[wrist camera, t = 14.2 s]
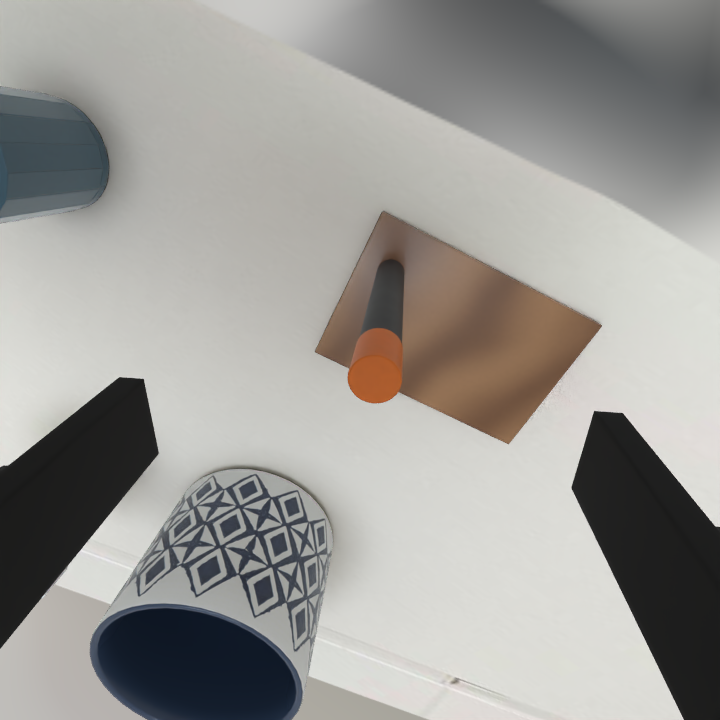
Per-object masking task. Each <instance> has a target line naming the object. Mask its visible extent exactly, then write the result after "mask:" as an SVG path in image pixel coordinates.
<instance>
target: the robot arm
mask: <svg viewBox="0 0 720 720" xmlns="http://www.w3.org/2000/svg"><path fill="white" fill-rule="evenodd" d="M158 454H159V452H158V447H157V442H156V437H155V432H154V427H153V423H152V418H151V413H150V408H149V403H148V398H147V393H146V388H145V383H144V379H136V378H122V377H119V378H118V379H117V380H115V381H114V382H113V383H112V384H110V385H109V386H108V387H106V388H105V389H104V390H103V391H101V392H100V393H99V394H98V395H96V396H95V397H94V398H93V399H91V400H90V401H89V402H88V403H86V404H85V405H84V406H83V407H81V408H80V409H79V410H78V411H76V412H75V413H74V414H73V415H71V416H70V417H69V418H68V419H66V420H65V421H64V422H63V423H61V424H60V425H59V426H58V427H56V428H55V429H54V430H53V431H51V432H50V433H49V434H48V435H46V436H45V437H44V438H42V439H41V440H40V441H39V442H37V443H36V444H35V445H34V446H32V447H31V448H30V449H29V450H27V451H26V452H25V453H24V454H22V455H21V456H20V457H19V458H17V459H16V460H15V461H14V462H12V463H11V464H10V465H9V466H2V467H0V648H1V647H2V646H3V645H4V643H5V642H6V641H7V640H8V639H9V637H10V636H11V635H12V634H13V632H14V631H15V630H16V629H17V627H18V626H19V625H20V624H21V623H22V621H23V620H24V619H25V618H26V616H27V615H28V614H29V613H30V611H31V610H32V609H33V608H34V607H35V605H36V604H37V603H38V602H39V600H40V599H41V598H42V597H43V595H44V594H45V593H46V592H47V591H48V589H49V588H50V587H51V586H52V584H53V583H54V582H55V581H56V579H57V578H58V577H59V576H60V575H61V573H62V572H63V571H64V570H65V568H66V567H67V566H68V565H69V563H70V562H71V561H72V560H73V559H74V557H75V556H76V555H77V554H78V552H79V551H80V550H81V549H82V547H83V546H84V545H85V544H86V542H87V541H88V540H89V539H90V538H91V536H92V535H93V534H94V533H95V531H96V530H97V529H98V528H99V526H100V525H101V524H102V523H103V522H104V520H105V519H106V518H107V517H108V515H109V514H110V513H111V512H112V510H113V509H114V508H115V507H116V506H117V504H118V503H119V502H120V501H121V499H122V498H123V497H124V496H125V494H126V493H127V492H128V491H129V490H130V488H131V487H132V486H133V485H134V483H135V482H136V481H137V480H138V478H139V477H140V476H141V475H142V474H143V472H144V471H145V470H146V469H147V467H148V466H149V465H150V464H151V462H152V461H153V460H154V459H155V458H156V456H157V455H158ZM572 490H573V492H574V494H575V496H576V498H577V500H578V503H579V505H580V507H581V509H582V511H583V513H584V515H585V517H586V519H587V521H588V523H589V525H590V527H591V529H592V531H593V533H594V535H595V538H596V540H597V542H598V544H599V546H600V548H601V550H602V552H603V554H604V556H605V558H606V560H607V562H608V564H609V566H610V568H611V570H612V573H613V575H614V577H615V579H616V581H617V583H618V585H619V587H620V589H621V591H622V593H623V595H624V597H625V599H626V601H627V603H628V605H629V608H630V610H631V612H632V614H633V616H634V618H635V620H636V622H637V624H638V626H639V628H640V630H641V632H642V634H643V636H644V638H645V640H646V643H647V645H648V647H649V649H650V651H651V653H652V655H653V657H654V659H655V661H656V663H657V665H658V667H659V669H660V671H661V673H662V675H663V678H664V680H665V682H666V684H667V686H668V688H669V690H670V692H671V694H672V696H673V698H674V700H675V702H676V704H677V706H678V708H679V710H680V713H681V715H682V717H683V719H684V720H720V527H715V526H714V524H713V523H712V522H711V521H710V520H709V518H708V517H707V516H706V515H705V513H704V512H703V511H702V510H701V509H700V507H699V506H698V505H697V504H696V502H695V501H694V500H693V499H692V498H691V496H690V495H689V494H688V493H687V491H686V490H685V489H684V488H683V486H682V485H681V484H680V483H679V482H678V480H677V479H676V478H675V477H674V475H673V474H672V473H671V472H670V471H669V469H668V468H667V467H666V466H665V464H664V463H663V462H662V461H661V460H660V458H659V457H658V456H657V455H656V453H655V452H654V451H653V450H652V449H651V447H650V446H649V445H648V444H647V442H646V441H645V440H644V439H643V437H642V436H641V435H640V434H639V433H638V431H637V430H636V429H635V428H634V426H633V425H632V424H631V423H630V422H629V420H628V419H627V418H626V417H625V415H624V414H623V413H613V412H599V411H594V414H593V417H592V420H591V424H590V427H589V430H588V434H587V437H586V441H585V444H584V447H583V451H582V454H581V457H580V461H579V464H578V468H577V471H576V474H575V478H574V481H573V484H572Z"/></svg>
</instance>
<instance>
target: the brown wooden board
mask: <svg viewBox="0 0 720 720" xmlns="http://www.w3.org/2000/svg"><path fill="white" fill-rule="evenodd" d="M389 259H392V260H396V261H398V262H399V263H401V265H402V266H403V268H404V301H403V330H402V346H403V365H402V385H401V388H400V390H399V392H400V393H402V394H404V395H406V396H408V397H410V398H412V399H415V400H417V401H419V402H421V403H423V404H425V405H427V406H429V407H431V408H434V409H436V410H438V411H440V412H442V413H444V414H446V415H448V416H450V417H452V418H455V419H457V420H459V421H461V422H463V423H465V424H467V425H469V426H471V427H473V428H476V429H478V430H480V431H482V432H484V433H486V434H488V435H490V436H492V437H494V438H497V439H499V440H501V441H503V442H505V443H507V444H509V443H510V442H511V441H512V439H513V438H514V437H515V436H516V434H517V433H518V432H519V431H520V429H521V428H522V427H523V425H524V424H525V423H526V422H527V420H528V419H529V418H530V417H531V415H532V414H533V413H534V412H535V410H536V409H537V408H538V406H539V405H540V404H541V403H542V401H543V400H544V399H545V398H546V396H547V395H548V394H549V393H550V391H551V390H552V389H553V387H554V386H555V385H556V384H557V382H558V381H559V380H560V379H561V377H562V376H563V375H564V374H565V372H566V371H567V370H568V368H569V367H570V366H571V365H572V363H573V362H574V361H575V360H576V358H577V357H578V356H579V355H580V353H581V352H582V351H583V349H584V348H585V347H586V346H587V344H588V343H589V342H590V341H591V339H592V338H593V337H594V336H595V334H596V333H597V332H598V330H599V329H600V328H601V327H602V325H601V324H599V323H598V322H596V321H594V320H592V319H590V318H588V317H586V316H584V315H582V314H580V313H578V312H576V311H574V310H573V309H571V308H569V307H567V306H565V305H563V304H561V303H559V302H557V301H555V300H553V299H551V298H549V297H548V296H546V295H544V294H542V293H540V292H538V291H536V290H534V289H532V288H530V287H528V286H526V285H524V284H523V283H521V282H519V281H517V280H515V279H513V278H511V277H509V276H507V275H505V274H503V273H501V272H499V271H498V270H496V269H494V268H492V267H490V266H488V265H486V264H484V263H482V262H480V261H478V260H476V259H474V258H473V257H471V256H469V255H467V254H465V253H463V252H461V251H459V250H457V249H455V248H453V247H451V246H449V245H448V244H446V243H444V242H442V241H440V240H438V239H436V238H434V237H432V236H430V235H428V234H426V233H424V232H423V231H421V230H419V229H417V228H415V227H413V226H411V225H409V224H407V223H405V222H403V221H401V220H399V219H398V218H396V217H394V216H392V215H390V214H388V213H386V212H384V211H382V213H381V215H380V217H379V219H378V221H377V224H376V226H375V228H374V230H373V232H372V234H371V236H370V238H369V240H368V242H367V244H366V246H365V248H364V251H363V253H362V255H361V257H360V259H359V261H358V263H357V265H356V267H355V269H354V271H353V273H352V276H351V278H350V280H349V282H348V284H347V286H346V288H345V290H344V292H343V294H342V296H341V298H340V300H339V303H338V305H337V307H336V309H335V311H334V313H333V315H332V317H331V319H330V321H329V323H328V325H327V327H326V330H325V332H324V334H323V336H322V338H321V340H320V342H319V344H318V346H317V348H316V350H315V352H316V353H318V354H320V355H322V356H324V357H326V358H328V359H331V360H333V361H335V362H337V363H339V364H341V365H343V366H345V367H347V368H350V365H351V361H352V358H353V354H354V350H355V347H356V343H357V341H358V339H359V336H360V332H361V329H362V325H363V321H364V318H365V314H366V310H367V306H368V303H369V299H370V295H371V291H372V288H373V284H374V280H375V277H376V273H377V269H378V267H379V265H380V264H381V263H382V262H383V261H385V260H389Z"/></svg>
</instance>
